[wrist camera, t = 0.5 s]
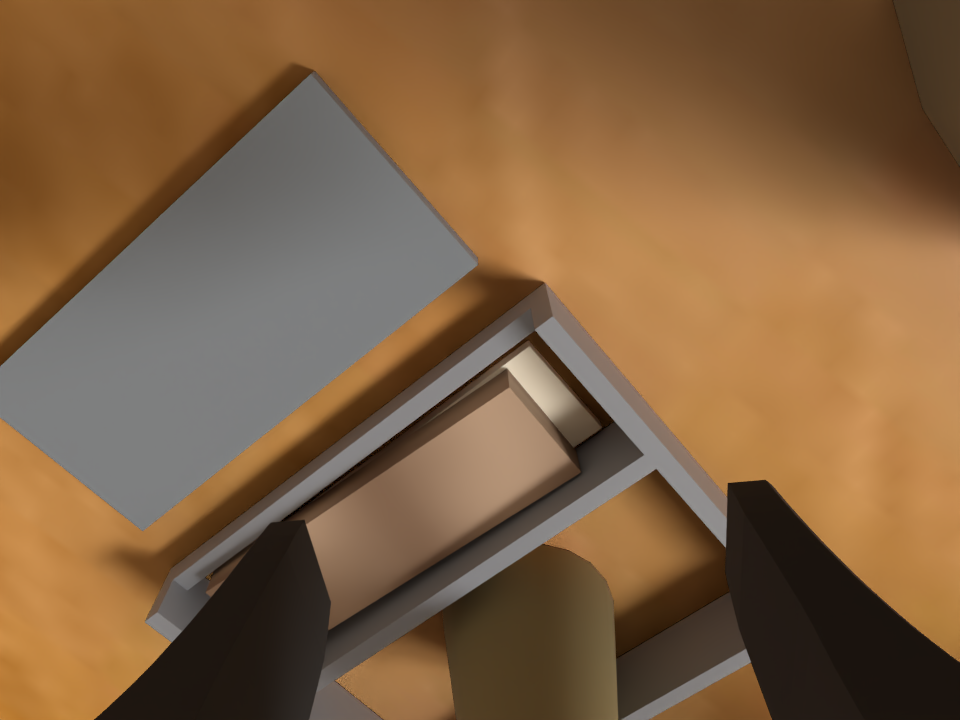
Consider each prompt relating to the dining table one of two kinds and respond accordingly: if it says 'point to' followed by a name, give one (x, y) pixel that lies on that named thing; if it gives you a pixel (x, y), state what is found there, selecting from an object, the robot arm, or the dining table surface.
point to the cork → (534, 642)
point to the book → (935, 62)
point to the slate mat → (232, 308)
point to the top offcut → (431, 494)
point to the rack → (500, 524)
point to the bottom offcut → (538, 384)
